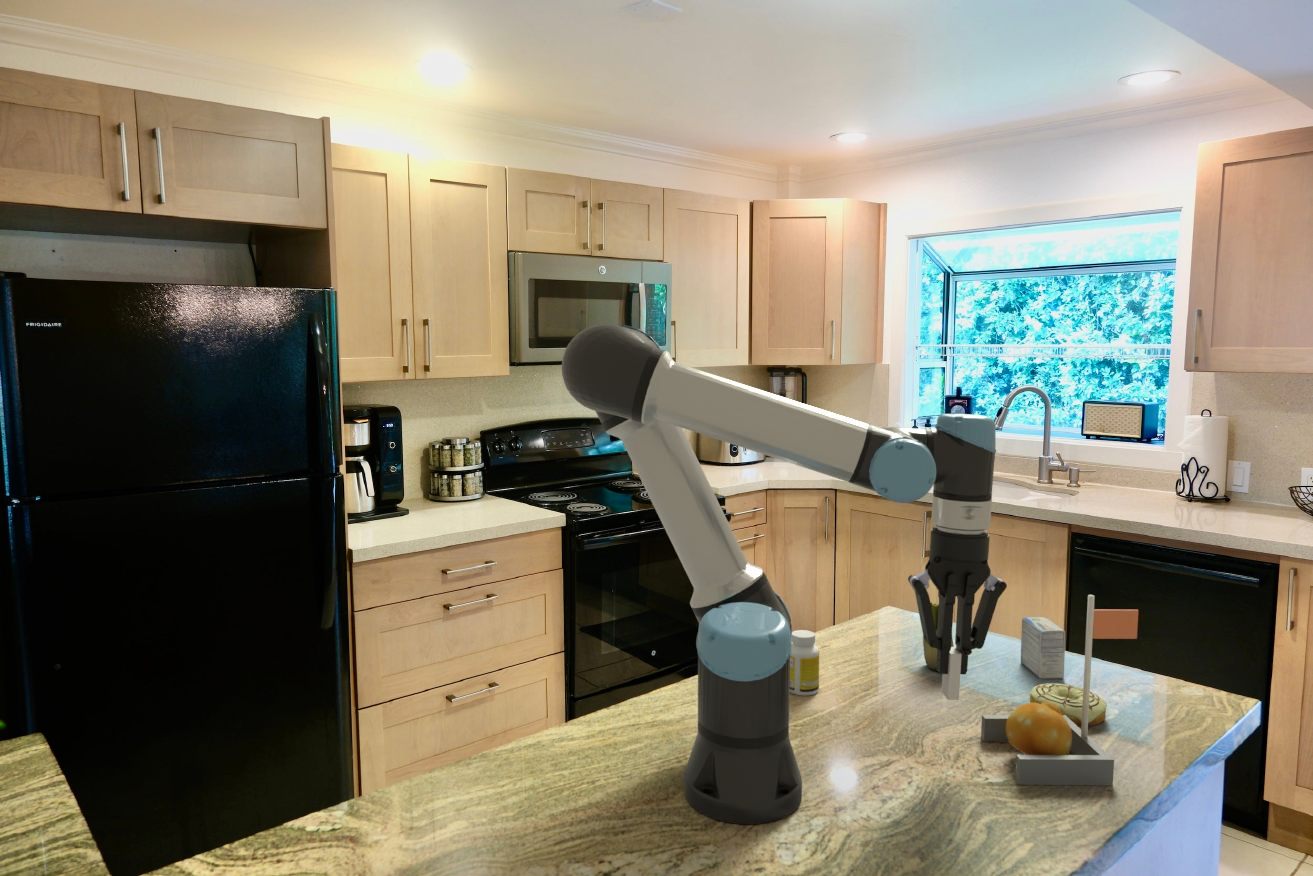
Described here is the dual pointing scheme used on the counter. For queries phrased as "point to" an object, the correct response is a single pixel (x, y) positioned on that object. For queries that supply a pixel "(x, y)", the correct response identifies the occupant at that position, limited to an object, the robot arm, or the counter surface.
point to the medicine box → (1043, 647)
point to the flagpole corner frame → (1087, 755)
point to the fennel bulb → (929, 652)
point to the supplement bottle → (804, 663)
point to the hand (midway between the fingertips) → (950, 695)
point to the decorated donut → (1070, 701)
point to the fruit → (1039, 730)
